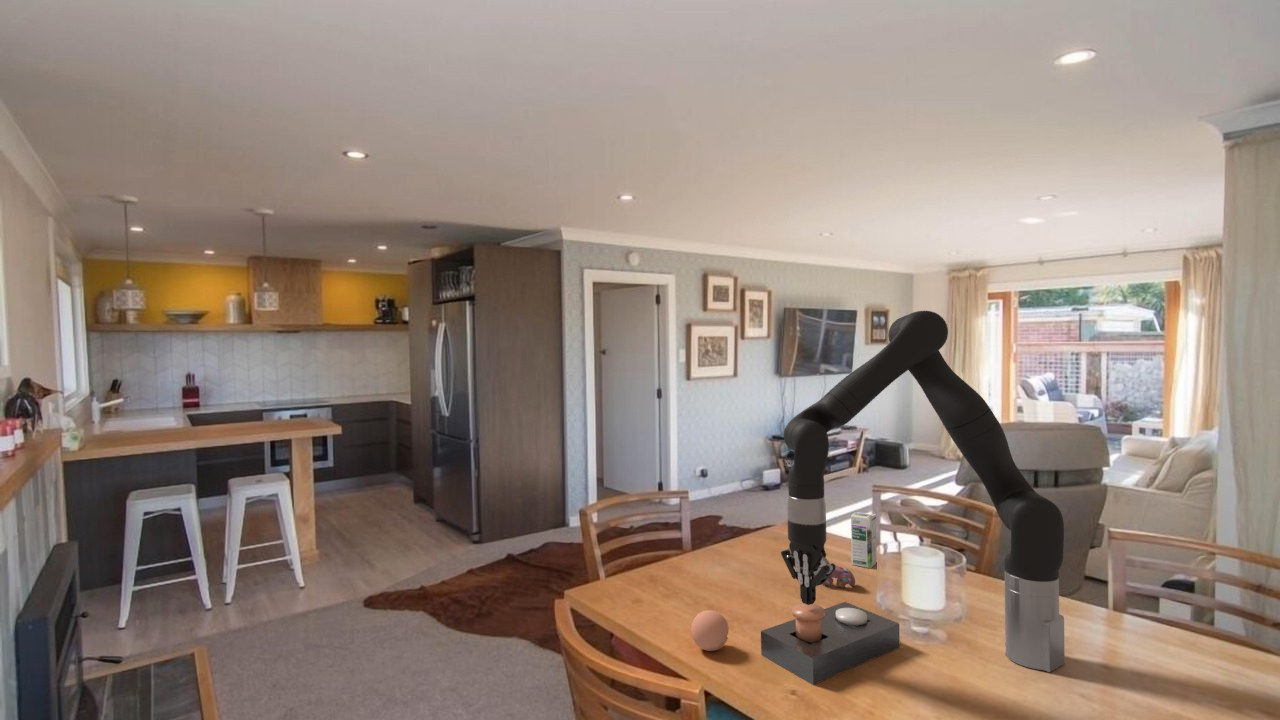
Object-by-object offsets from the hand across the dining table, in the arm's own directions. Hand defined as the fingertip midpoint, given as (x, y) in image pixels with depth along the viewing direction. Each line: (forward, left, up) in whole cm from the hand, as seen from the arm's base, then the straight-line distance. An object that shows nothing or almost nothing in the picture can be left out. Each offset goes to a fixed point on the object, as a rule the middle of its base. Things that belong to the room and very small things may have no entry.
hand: (808, 603), depth 127 cm
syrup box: (+30, -56, -12) cm, 64 cm away
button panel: (0, -7, -12) cm, 13 cm away
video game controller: (+24, -36, -12) cm, 45 cm away
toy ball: (+15, +13, -12) cm, 23 cm away
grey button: (0, -13, -11) cm, 17 cm away
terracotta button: (0, 0, -7) cm, 7 cm away
